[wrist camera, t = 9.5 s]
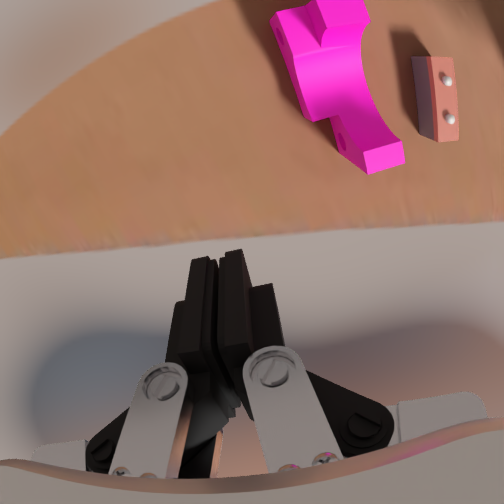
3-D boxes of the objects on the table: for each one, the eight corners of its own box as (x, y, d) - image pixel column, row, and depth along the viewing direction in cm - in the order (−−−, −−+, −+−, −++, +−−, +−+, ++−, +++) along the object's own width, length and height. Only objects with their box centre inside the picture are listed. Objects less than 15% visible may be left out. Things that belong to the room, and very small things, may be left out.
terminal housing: (431, 56, 24) (456, 58, 21) (439, 132, 29) (462, 141, 25) (410, 56, 24) (434, 56, 21) (419, 134, 29) (441, 143, 25)
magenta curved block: (268, 21, 23) (282, 4, 16) (329, 8, 22) (359, -9, 16) (316, 159, 31) (340, 183, 24) (369, 142, 30) (405, 162, 24)
